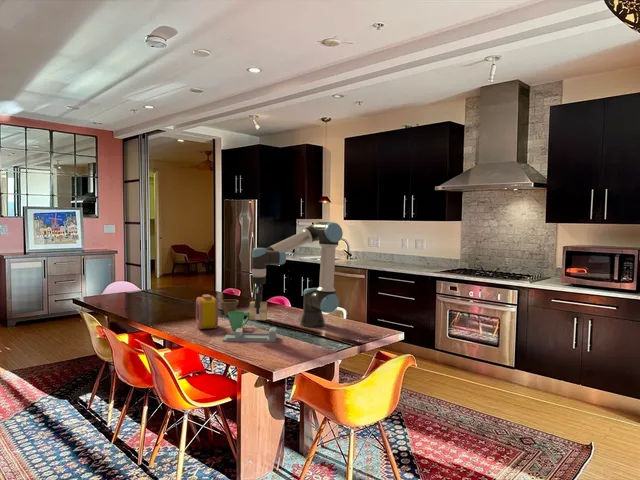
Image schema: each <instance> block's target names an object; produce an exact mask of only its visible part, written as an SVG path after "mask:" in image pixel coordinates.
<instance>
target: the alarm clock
mask: <svg viewBox="0 0 640 480" xmlns="http://www.w3.org/2000/svg"><path fill="white" fill-rule="evenodd" d="M218 303H219V302H218V300H217V298H216V297H214V295H210V294H202V296H198V297H196V299H195V323H196V326H197V328H198V329H199V330H207V329H216V328H218V327H217V326H218V324H219V304H218Z"/></svg>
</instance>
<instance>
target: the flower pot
mask: <svg viewBox="0 0 640 480" xmlns="http://www.w3.org/2000/svg"><path fill="white" fill-rule="evenodd" d="M221 305H222V308H223V309H222V310H223V313H224V316H225V317H228V312H231V311H237V306H238V305H239V300H238V299H235V298H233V299H231V298H230V299H229V298H228V299H222V300H221Z"/></svg>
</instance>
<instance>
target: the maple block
mask: <svg viewBox="0 0 640 480" xmlns="http://www.w3.org/2000/svg"><path fill="white" fill-rule="evenodd" d="M254 307H255V301H250V302H249V311H248V312H249V320H248V321H252V320H253V321H256V320H255V308H254ZM267 318H268V301H262V302H260V320H259V321H266V320H267Z"/></svg>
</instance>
